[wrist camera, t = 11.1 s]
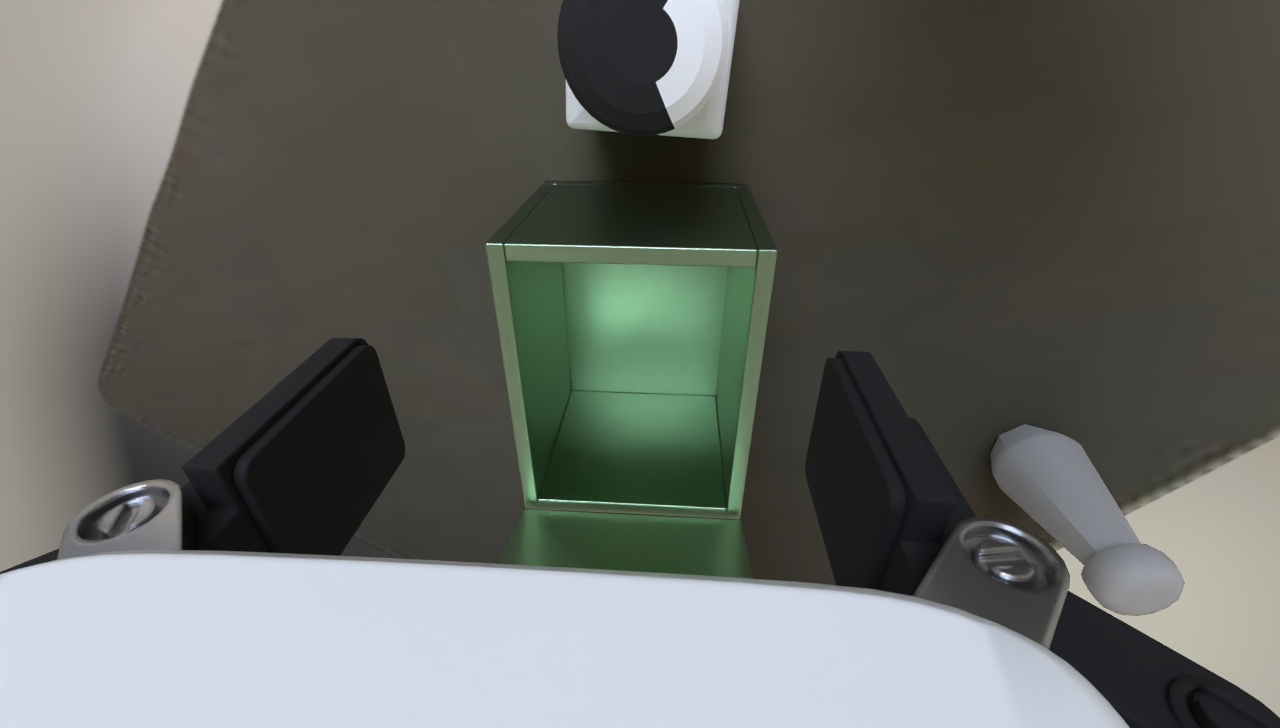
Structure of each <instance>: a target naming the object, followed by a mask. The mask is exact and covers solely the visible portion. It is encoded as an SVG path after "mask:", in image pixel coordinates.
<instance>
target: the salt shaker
mask: <svg viewBox="0 0 1280 728" xmlns="http://www.w3.org/2000/svg"><path fill="white" fill-rule="evenodd" d="M991 465H992V474H993V476H994V478H995V480H996V482H997V483H998V485H999V487H1000V489H1001V490H1002V491H1003V492H1004V493H1005V494H1006V495H1008V496H1009V497H1010V498H1011V499H1012V500H1013V501H1014V502H1015V503H1016V504H1017V505H1019V506H1020V507H1021V508H1022V509H1023V510H1024V511H1025V512H1026V513H1027V514H1028V515H1029V516H1031V517H1032V518H1033V519H1034V520H1035V521H1036V522H1037V523H1038V524H1039V525H1040V526H1042V527H1043V528H1044V529H1045V530H1046V531H1047V532H1048V533H1049V534H1050V535H1051V536H1053V537H1054V538H1055V539H1056V540H1057V541H1058V542H1059V543H1060V544H1061V545H1062V546H1064V547H1065V548H1066V549H1067V550H1068V551H1069V552H1070V553H1071V554H1072V555H1074V556H1075V557H1076V558H1077V559H1078V560H1079V561H1080V562H1081V563H1082V564H1083V565H1084V567H1083V570H1082V573H1081V575H1082V579H1083V580H1084V583H1085V584H1086V586H1087V588H1088V589H1089V591H1090V592H1091V594H1092V595H1093V597H1094V598H1095V599H1096V600H1097V601H1098V602H1099V603H1100V604H1101V605H1102V606H1103V607H1104V608H1107V609H1109V610H1111V611H1113V612H1115V613H1119V614H1122V615H1133V616H1140V615H1146V614H1152V613H1155V612H1158V611H1160V610H1162V609H1165V608H1167V607H1169V606H1170V605H1171V604H1172V603H1174V602H1175V601H1177V600H1178V599H1179V597H1180V595H1181V592H1182V590H1183V587H1184V584H1185V583H1184V580H1183V577H1182V574H1181V573H1180V571H1179V570H1178V568H1177V566H1176V565H1175V563H1174V562H1173V561H1172V560H1171V559H1170V558H1169V557H1167V556H1166V555H1165V554H1164V553H1162V552H1161V551H1159V550H1157V549H1155V548H1153V547H1151V546H1149V545H1147V544H1141V543H1140V541H1139V540H1138V538H1137V537H1136V535H1135V533H1134V531H1133V530H1132V528H1131V527H1130V525H1129V523H1128V522H1127V520H1126V519H1125V517H1124V515H1123V513H1122V512H1121V510H1120V508H1119V507H1118V505H1117V504H1116V502H1115V500H1114V499H1113V497H1112V495H1111V494H1110V492H1109V490H1108V489H1107V487H1106V486H1105V484H1104V482H1103V481H1102V479H1101V477H1100V476H1099V474H1098V472H1097V471H1096V469H1095V468H1094V466H1093V464H1092V463H1091V461H1090V459H1089V458H1088V456H1087V454H1086V453H1085V451H1084V450H1083V448H1082V446H1081V445H1080V444H1079V443H1078V442H1076V441H1075V440H1073V439H1071V438H1069V437H1067V436H1065V435H1063V434H1061V433H1057V432H1053V431H1049V430H1046V429H1042V428H1038V427H1034V426H1030V425H1026V424H1024V425H1022V426H1019V427H1017V428H1015V429H1012V430H1010V431H1008V432H1005V433H1003V434H1001V435H999V437H998V439H997V441H996V443H995V445H994V447H993V449H992V452H991Z"/></svg>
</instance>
